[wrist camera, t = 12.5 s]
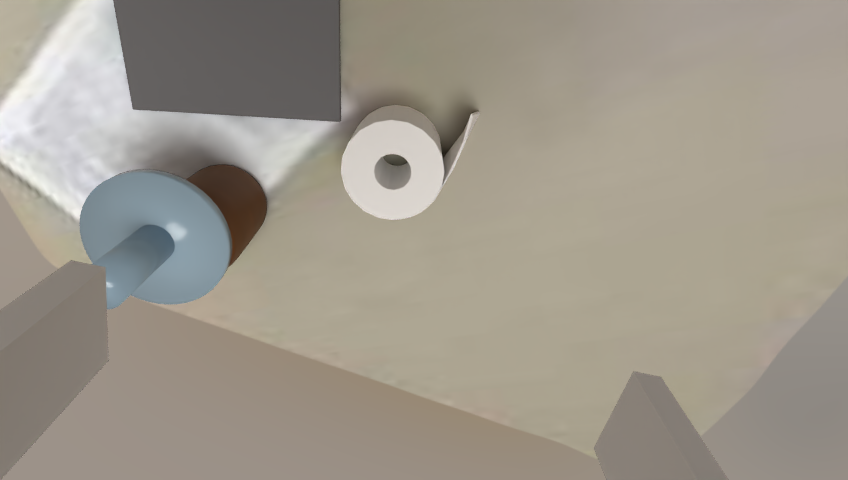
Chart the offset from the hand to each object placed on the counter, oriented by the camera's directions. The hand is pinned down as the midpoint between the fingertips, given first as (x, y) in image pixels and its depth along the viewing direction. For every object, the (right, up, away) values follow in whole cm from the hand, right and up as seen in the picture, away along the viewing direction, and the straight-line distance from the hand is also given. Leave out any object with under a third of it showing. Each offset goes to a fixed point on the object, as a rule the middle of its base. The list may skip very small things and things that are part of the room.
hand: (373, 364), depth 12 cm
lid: (-19, +3, +26) cm, 33 cm away
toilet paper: (+1, +12, +33) cm, 35 cm away
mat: (-15, +22, +28) cm, 39 cm away
